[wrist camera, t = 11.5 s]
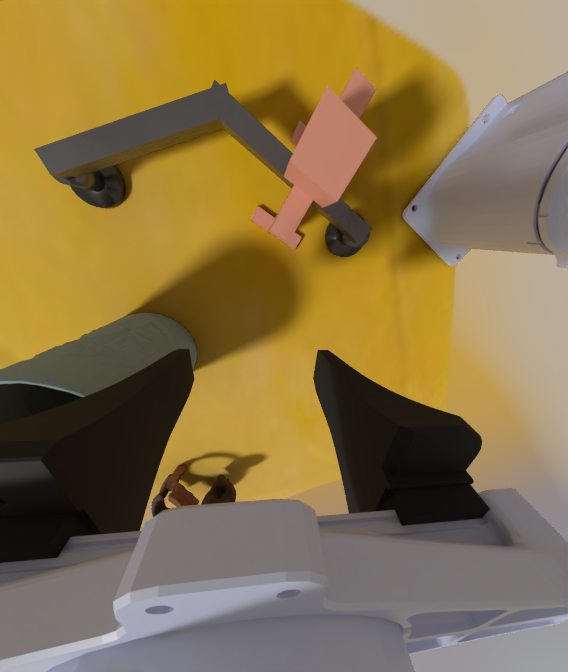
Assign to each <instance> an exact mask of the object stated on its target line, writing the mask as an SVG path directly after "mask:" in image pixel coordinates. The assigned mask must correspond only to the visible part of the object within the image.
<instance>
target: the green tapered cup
mask: <svg viewBox="0 0 568 672" xmlns="http://www.w3.org/2000/svg"><path fill="white" fill-rule="evenodd" d="M176 349H189V350H190V356H191V362H192V368H194V365H195V363H196V359H197V351H196V346H195V343H194V341H193V338H192V337H191V335H190V334H189V333H188V331H187V330H186V329H185V328H184V327H183V326H182V325H180V324H179V323H178V322H176V321H174V320H172V319H171V318H168V317H166V316H163V315H160V314H156V313H136V314H131V315H128V316H126V317H123V318H121V319H119V320H117V321H114V322H112V323H110V324H108V325H106V326H104V327H100V328H99V329H97V330H93V331H92V332H90V333H88V334H84V335H83V336H81V338H80V339H78V340H75V341H72V342H67V343H65V344H63V345H61V346H56V347H54V348H52V349H49V350H47V351H45V352H43V353H40V354H38V355H36V356H35V357H34V358H32V359H29V360H25V361H21V362H18V363H16V364H13V365H11V366H8V367H6V368H4V369H1V370H0V424H3V423H7V422H11V421H14V420H18V419H21V418H25V417H28V416H31V415H34V414H38V413H41V412H44V411H47V410H50V409H53V408H56V407H59V406H61V405H64V404H67V403H70V402H73V401H75V400H78V399H80V398H83V397H85V396H88V395H90V394H93V393H95V392H98V391H100V390H102V389H105V388H107V387H109V386H111V385H113V384H115V383H118V382H120V381H122V380H124V379H126V378H127V377H129V376H131V375H133V374H135V373H137V372H138V371H140V370H142V369H144V368H146V367H147V366H149V365H151V364H152V363H154V362H156V361H157V360H159V359H161V358H162V357H164V356H166V355H167V354H169V353H171V352H172V351H174V350H176Z"/></svg>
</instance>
